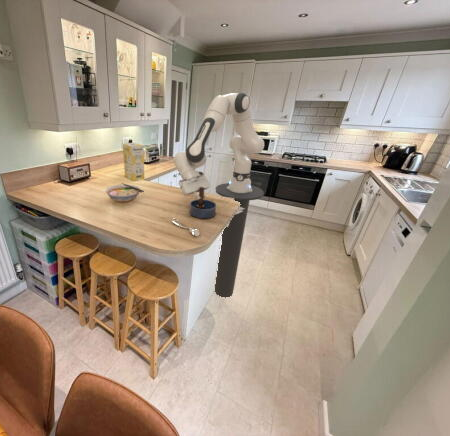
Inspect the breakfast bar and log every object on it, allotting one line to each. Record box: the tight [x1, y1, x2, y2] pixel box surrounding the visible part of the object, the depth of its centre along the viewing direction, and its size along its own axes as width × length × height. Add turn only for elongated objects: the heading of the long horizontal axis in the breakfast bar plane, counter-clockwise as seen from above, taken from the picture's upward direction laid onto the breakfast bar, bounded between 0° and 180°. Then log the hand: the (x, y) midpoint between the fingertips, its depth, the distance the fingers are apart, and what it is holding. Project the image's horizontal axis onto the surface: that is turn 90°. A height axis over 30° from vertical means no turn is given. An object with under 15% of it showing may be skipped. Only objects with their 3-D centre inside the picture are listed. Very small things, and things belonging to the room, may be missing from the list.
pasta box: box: [122, 142, 146, 182], centre depth 199 cm, size 18×10×28 cm, turn 32°
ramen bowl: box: [105, 182, 145, 203], centre depth 155 cm, size 25×23×8 cm
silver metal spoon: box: [171, 217, 201, 237], centre depth 121 cm, size 20×4×5 cm
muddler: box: [197, 187, 205, 209], centre depth 133 cm, size 4×4×14 cm
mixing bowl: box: [189, 199, 217, 219], centre depth 137 cm, size 15×15×6 cm
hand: (201, 198), depth 132 cm, fingers closed on muddler, 2 cm apart
